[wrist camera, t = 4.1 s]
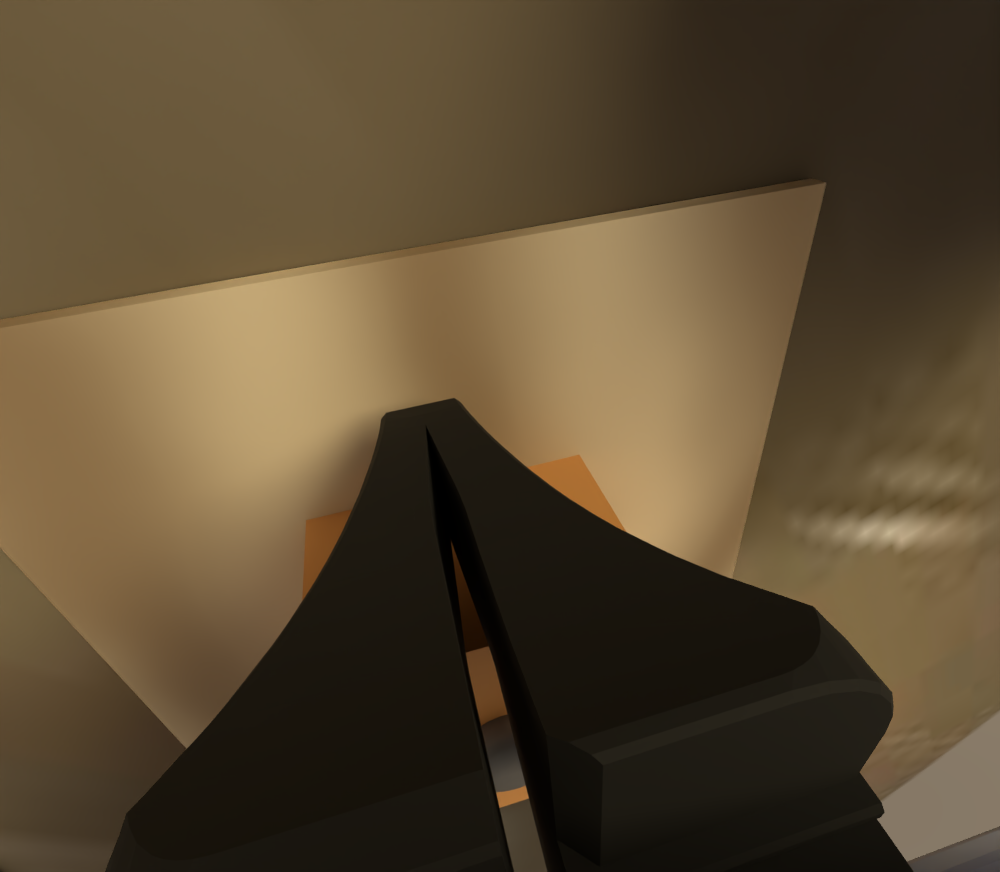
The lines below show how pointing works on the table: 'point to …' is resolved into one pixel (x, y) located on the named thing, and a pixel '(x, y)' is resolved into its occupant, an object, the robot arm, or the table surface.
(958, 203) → the table surface
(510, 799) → the lock
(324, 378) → the dock
